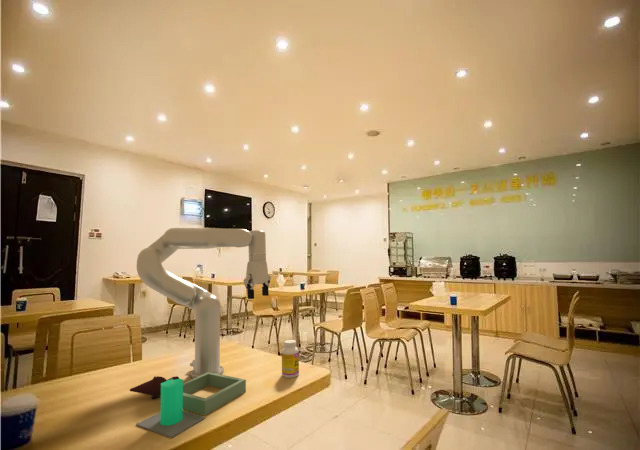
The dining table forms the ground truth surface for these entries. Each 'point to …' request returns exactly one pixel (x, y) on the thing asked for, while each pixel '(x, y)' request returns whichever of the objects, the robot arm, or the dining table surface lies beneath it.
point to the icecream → (152, 386)
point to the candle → (171, 402)
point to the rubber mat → (171, 430)
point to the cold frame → (206, 405)
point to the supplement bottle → (290, 359)
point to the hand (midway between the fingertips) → (258, 297)
